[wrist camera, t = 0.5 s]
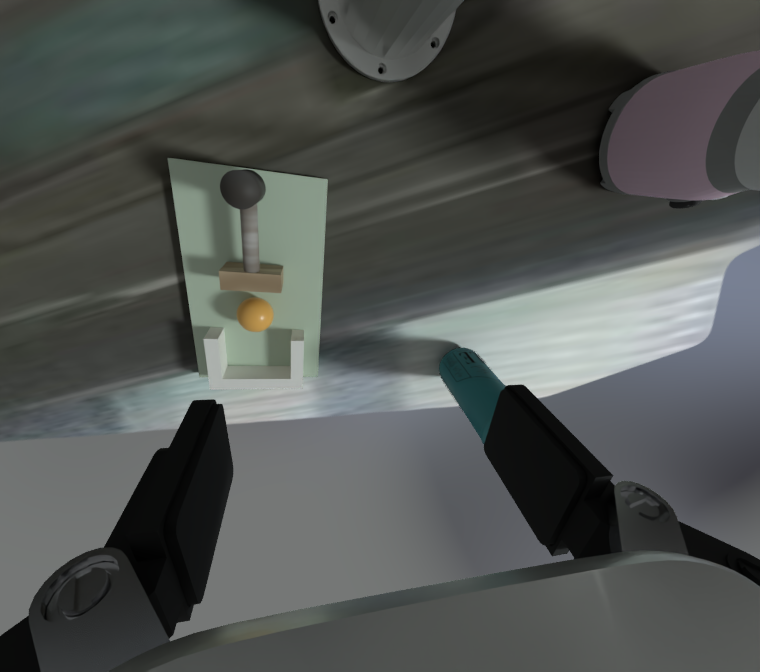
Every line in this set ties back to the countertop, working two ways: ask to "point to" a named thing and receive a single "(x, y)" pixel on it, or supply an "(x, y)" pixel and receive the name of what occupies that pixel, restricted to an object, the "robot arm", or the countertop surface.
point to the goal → (252, 375)
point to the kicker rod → (248, 236)
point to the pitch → (276, 247)
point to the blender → (687, 133)
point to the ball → (255, 314)
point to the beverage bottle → (472, 387)
